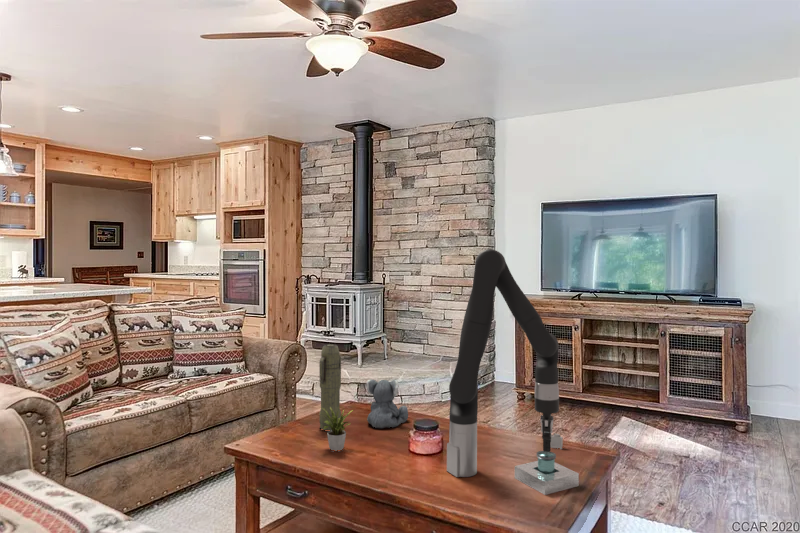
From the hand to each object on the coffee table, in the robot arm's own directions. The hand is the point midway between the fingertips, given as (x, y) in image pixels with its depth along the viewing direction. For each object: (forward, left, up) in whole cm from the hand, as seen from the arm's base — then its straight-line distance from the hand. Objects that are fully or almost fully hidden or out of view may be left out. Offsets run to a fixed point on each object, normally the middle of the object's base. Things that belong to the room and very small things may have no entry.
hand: (547, 446), depth 172 cm
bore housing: (0, 0, -11) cm, 11 cm away
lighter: (+25, +23, -12) cm, 36 cm away
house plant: (-50, +59, -12) cm, 78 cm away
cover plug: (0, 0, -11) cm, 11 cm away
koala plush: (-19, +78, -12) cm, 81 cm away
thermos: (-42, +83, -12) cm, 94 cm away
